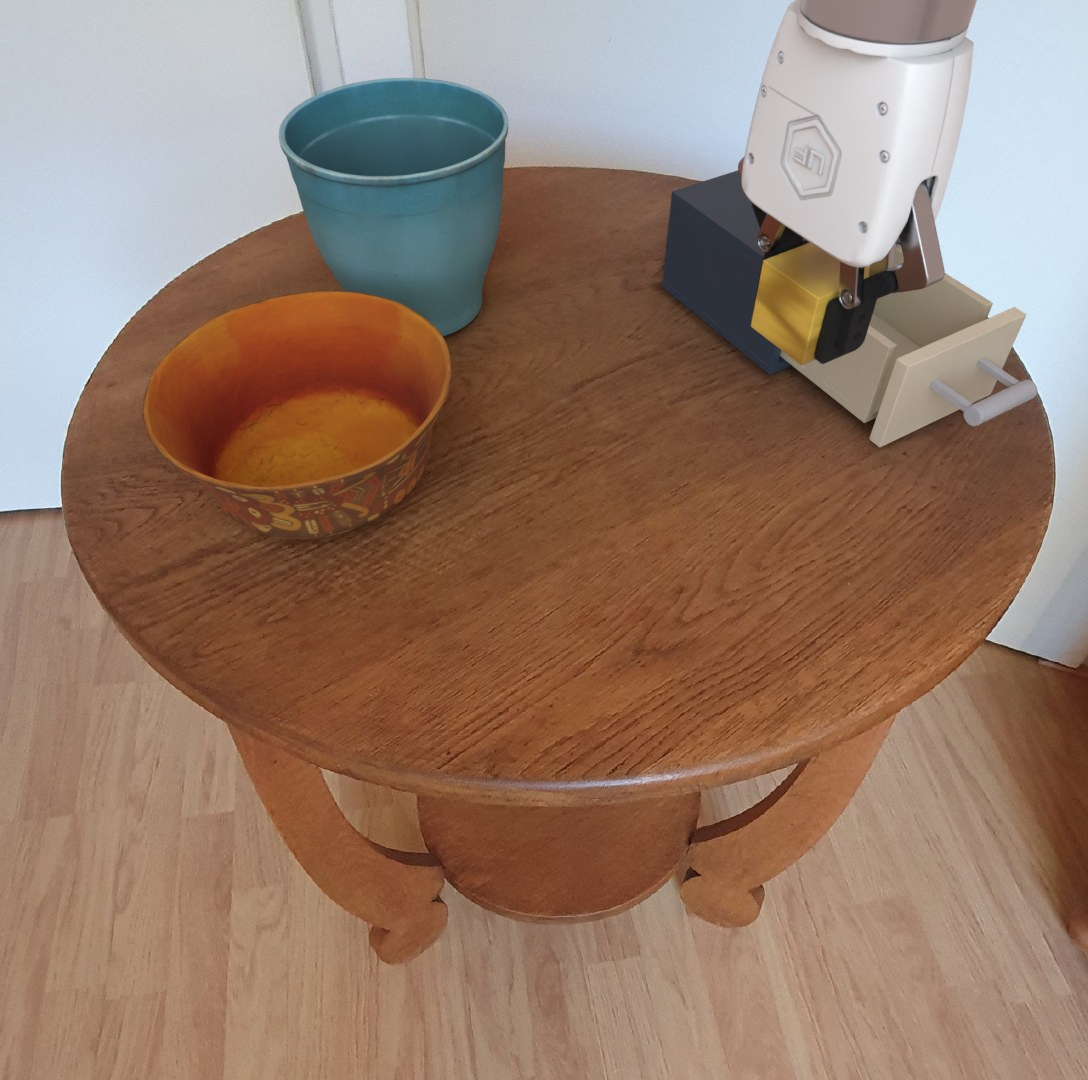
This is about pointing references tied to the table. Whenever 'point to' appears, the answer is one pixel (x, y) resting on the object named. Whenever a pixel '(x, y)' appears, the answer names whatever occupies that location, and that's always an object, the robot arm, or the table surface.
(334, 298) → the bowl
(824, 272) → the block
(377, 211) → the flower pot
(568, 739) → the table surface
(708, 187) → the cabinet
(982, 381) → the drawer
